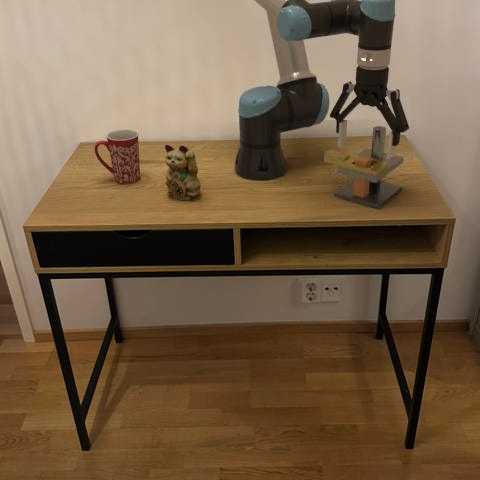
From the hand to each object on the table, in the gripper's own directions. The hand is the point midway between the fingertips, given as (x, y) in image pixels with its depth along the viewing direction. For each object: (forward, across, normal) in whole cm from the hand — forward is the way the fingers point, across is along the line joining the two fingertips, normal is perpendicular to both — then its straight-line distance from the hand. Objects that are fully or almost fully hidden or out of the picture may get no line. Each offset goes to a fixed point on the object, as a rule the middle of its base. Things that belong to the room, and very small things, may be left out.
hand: (365, 151), depth 148 cm
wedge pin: (+12, 0, 0) cm, 12 cm away
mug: (+13, -62, -28) cm, 69 cm away
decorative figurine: (+13, -40, -25) cm, 49 cm away
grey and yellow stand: (+13, -2, +4) cm, 14 cm away
